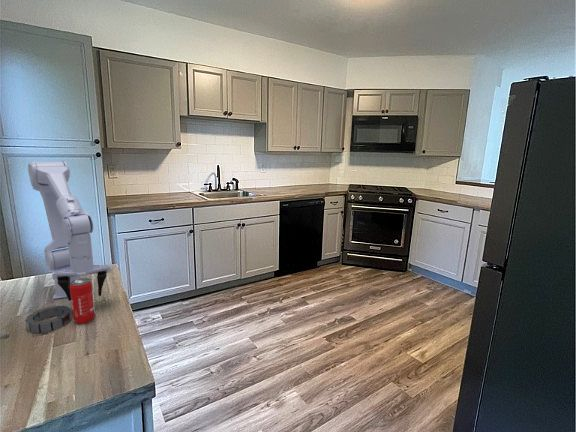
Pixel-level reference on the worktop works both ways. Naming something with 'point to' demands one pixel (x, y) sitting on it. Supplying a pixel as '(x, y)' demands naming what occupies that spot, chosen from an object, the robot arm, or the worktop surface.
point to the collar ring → (47, 326)
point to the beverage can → (82, 300)
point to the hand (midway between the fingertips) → (85, 296)
